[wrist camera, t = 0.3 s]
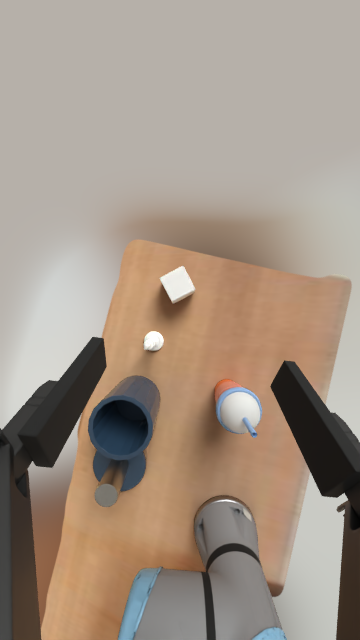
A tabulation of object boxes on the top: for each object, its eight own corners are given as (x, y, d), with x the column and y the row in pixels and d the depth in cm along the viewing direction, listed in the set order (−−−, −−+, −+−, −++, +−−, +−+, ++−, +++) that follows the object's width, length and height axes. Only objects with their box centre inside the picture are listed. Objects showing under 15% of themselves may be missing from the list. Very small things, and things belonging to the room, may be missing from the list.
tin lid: (139, 492, 47) (129, 534, 38) (89, 479, 47) (67, 518, 38) (152, 442, 47) (144, 472, 38) (102, 429, 47) (83, 456, 38)
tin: (154, 428, 47) (144, 467, 35) (107, 416, 47) (80, 450, 35) (165, 382, 47) (160, 404, 35) (119, 370, 47) (96, 388, 35)
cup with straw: (202, 397, 47) (214, 445, 29) (219, 366, 47) (243, 395, 29) (233, 415, 47) (265, 474, 29) (250, 384, 47) (294, 424, 29)
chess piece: (140, 342, 47) (129, 348, 37) (152, 327, 47) (144, 329, 37) (155, 354, 47) (148, 363, 37) (167, 339, 47) (163, 344, 37)
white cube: (193, 293, 47) (195, 289, 41) (173, 304, 47) (171, 301, 41) (182, 272, 47) (183, 265, 41) (162, 283, 47) (159, 277, 41)
